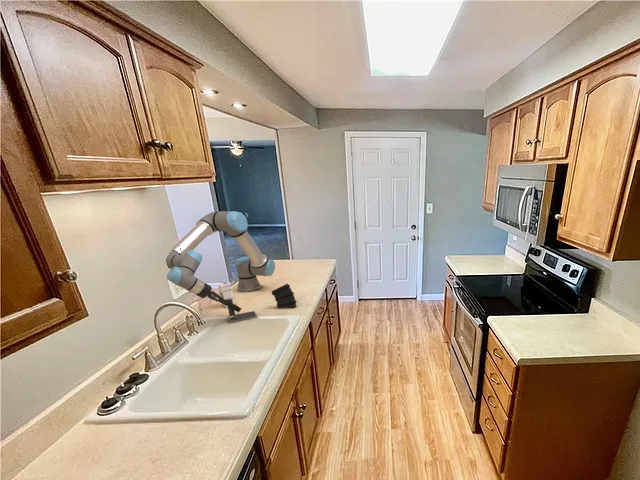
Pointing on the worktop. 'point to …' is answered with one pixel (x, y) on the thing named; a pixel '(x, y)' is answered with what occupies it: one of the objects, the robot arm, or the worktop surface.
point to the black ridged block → (284, 297)
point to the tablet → (243, 316)
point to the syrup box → (226, 291)
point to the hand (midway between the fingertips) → (238, 309)
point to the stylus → (231, 311)
